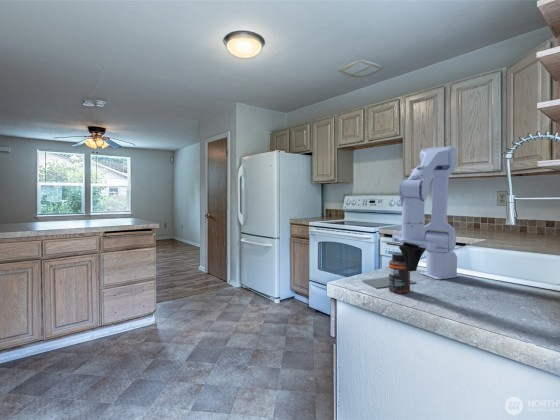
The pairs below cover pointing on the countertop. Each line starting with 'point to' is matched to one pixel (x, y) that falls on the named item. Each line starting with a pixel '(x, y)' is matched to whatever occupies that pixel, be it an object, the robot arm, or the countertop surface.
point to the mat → (380, 282)
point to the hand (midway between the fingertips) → (411, 270)
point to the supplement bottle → (398, 274)
